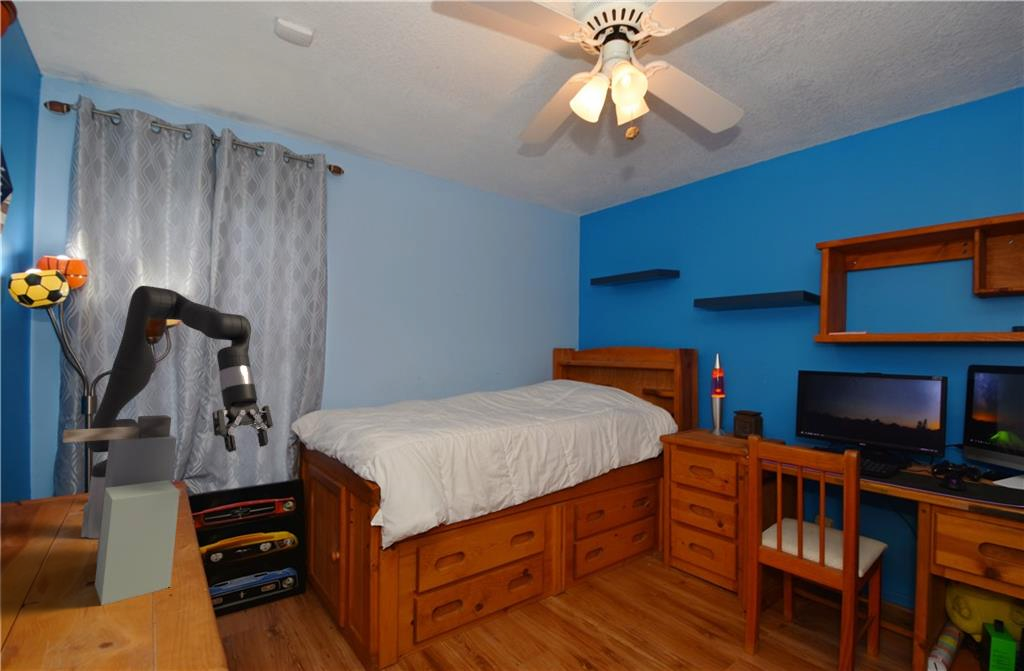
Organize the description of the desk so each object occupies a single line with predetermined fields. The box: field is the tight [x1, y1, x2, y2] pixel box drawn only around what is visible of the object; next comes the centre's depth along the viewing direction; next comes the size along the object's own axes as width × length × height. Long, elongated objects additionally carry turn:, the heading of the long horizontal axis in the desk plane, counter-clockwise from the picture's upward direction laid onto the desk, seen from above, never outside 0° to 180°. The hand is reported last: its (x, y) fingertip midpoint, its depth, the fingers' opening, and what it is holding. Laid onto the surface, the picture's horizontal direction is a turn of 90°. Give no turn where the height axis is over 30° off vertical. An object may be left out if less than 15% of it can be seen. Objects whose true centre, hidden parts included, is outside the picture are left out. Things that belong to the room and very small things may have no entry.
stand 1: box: [95, 433, 177, 564], centre depth 118 cm, size 12×12×32 cm
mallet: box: [62, 414, 172, 444], centre depth 116 cm, size 20×6×5 cm, turn 137°
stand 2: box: [94, 480, 181, 606], centre depth 107 cm, size 12×12×22 cm
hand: (248, 448), depth 116 cm, fingers open, 8 cm apart
